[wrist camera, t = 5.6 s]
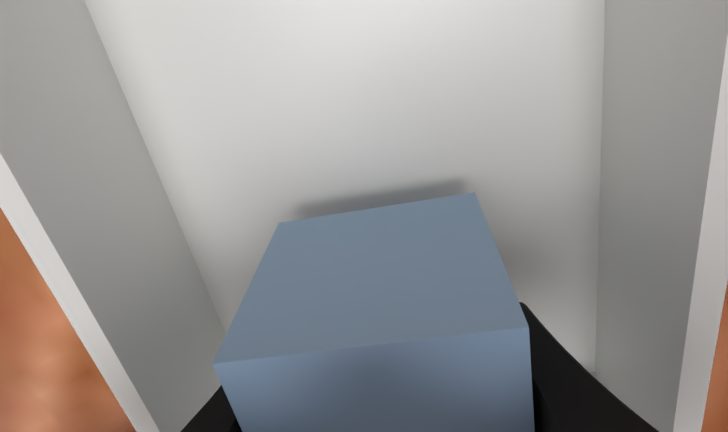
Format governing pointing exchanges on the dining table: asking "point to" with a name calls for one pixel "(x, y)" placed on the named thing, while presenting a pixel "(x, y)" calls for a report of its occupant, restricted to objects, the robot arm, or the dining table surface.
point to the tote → (371, 167)
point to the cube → (381, 327)
